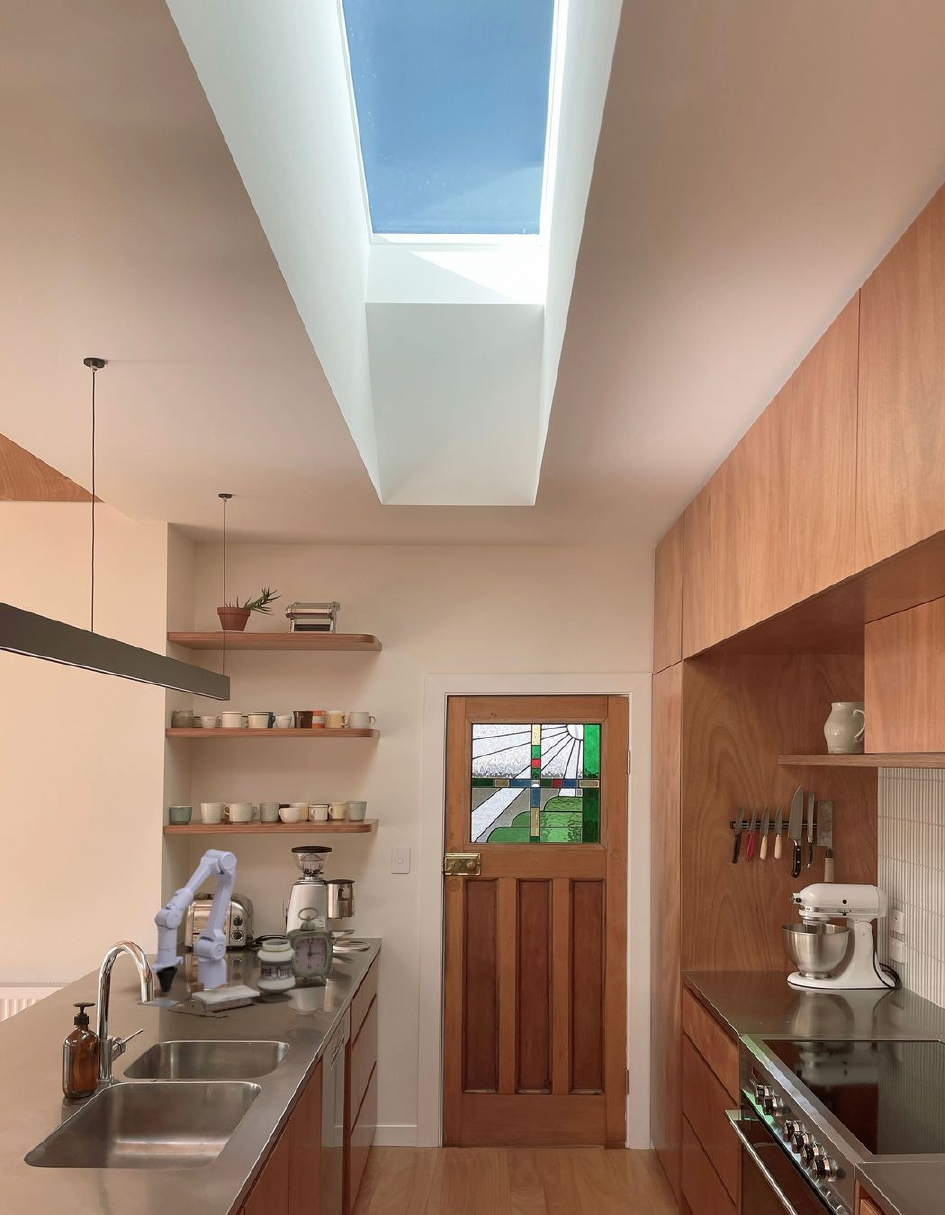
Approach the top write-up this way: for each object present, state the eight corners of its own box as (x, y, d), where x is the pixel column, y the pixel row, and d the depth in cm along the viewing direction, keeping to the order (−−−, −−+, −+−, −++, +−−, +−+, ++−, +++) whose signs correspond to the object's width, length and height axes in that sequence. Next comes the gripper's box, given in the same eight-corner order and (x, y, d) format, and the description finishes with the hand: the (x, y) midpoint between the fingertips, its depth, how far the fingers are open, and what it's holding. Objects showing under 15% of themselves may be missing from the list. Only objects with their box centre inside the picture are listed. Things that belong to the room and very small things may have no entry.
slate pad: (149, 999, 333) (149, 997, 333) (179, 1003, 329) (179, 1001, 329) (137, 1004, 328) (137, 1002, 328) (167, 1008, 324) (167, 1006, 324)
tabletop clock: (288, 990, 344) (290, 911, 346) (281, 983, 352) (283, 906, 354) (331, 985, 350) (333, 908, 352) (324, 979, 358) (325, 903, 360)
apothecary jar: (248, 1000, 332) (249, 941, 334) (279, 993, 341) (280, 935, 343) (271, 1009, 324) (273, 948, 326) (303, 1000, 333) (304, 941, 334)
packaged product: (190, 1008, 322) (205, 1017, 314) (191, 992, 322) (206, 1000, 315) (243, 999, 334) (259, 1007, 326) (244, 983, 334) (260, 991, 326)
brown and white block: (188, 1002, 331) (189, 984, 331) (196, 999, 334) (196, 981, 335) (213, 1005, 328) (214, 987, 328) (221, 1002, 331) (221, 984, 332)
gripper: (170, 941, 346) (169, 984, 345) (141, 951, 332) (140, 996, 331) (189, 943, 343) (187, 986, 342) (160, 953, 330) (159, 998, 329)
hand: (165, 991), depth 337 cm, fingers closed
